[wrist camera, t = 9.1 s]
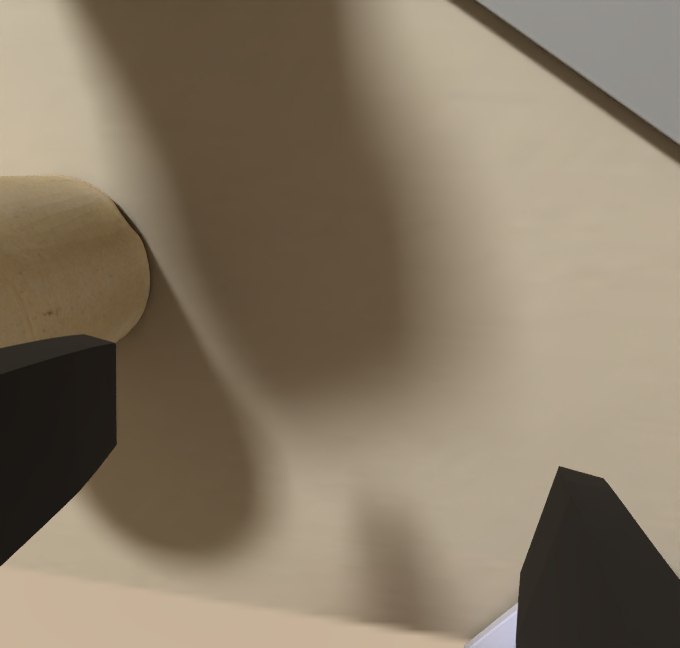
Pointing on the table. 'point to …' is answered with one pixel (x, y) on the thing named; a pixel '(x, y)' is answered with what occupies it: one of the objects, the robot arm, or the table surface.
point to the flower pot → (67, 262)
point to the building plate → (611, 48)
